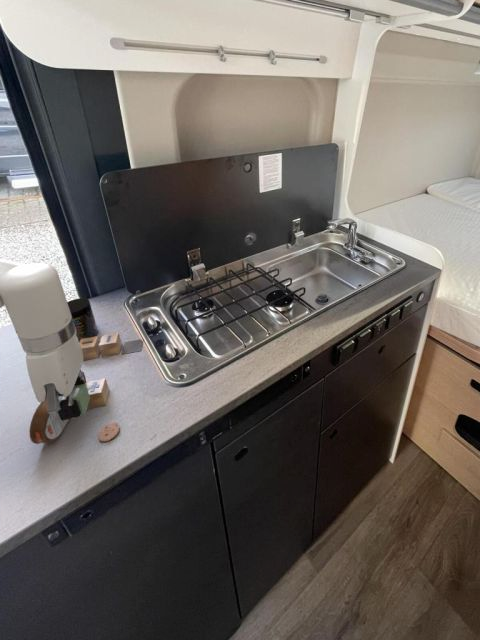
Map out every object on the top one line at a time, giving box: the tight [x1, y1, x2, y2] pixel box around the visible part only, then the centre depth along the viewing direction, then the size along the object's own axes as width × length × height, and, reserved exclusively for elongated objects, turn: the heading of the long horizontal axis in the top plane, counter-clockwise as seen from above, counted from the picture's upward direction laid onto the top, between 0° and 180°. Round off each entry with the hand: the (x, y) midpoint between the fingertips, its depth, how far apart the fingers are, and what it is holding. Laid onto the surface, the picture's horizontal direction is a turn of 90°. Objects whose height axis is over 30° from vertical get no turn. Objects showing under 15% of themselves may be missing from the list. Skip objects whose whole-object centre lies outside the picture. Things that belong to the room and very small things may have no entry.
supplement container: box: [67, 297, 99, 343], centre depth 90 cm, size 7×7×10 cm
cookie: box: [97, 422, 120, 442], centre depth 66 cm, size 4×4×1 cm
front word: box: [85, 377, 110, 410], centre depth 73 cm, size 4×4×4 cm
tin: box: [29, 371, 87, 445], centre depth 68 cm, size 15×3×8 cm, turn 4°
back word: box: [80, 332, 144, 362], centre depth 87 cm, size 14×5×4 cm, turn 107°
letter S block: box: [59, 384, 90, 417], centre depth 63 cm, size 4×4×4 cm
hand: (75, 405), depth 63 cm, fingers closed on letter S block, 4 cm apart
